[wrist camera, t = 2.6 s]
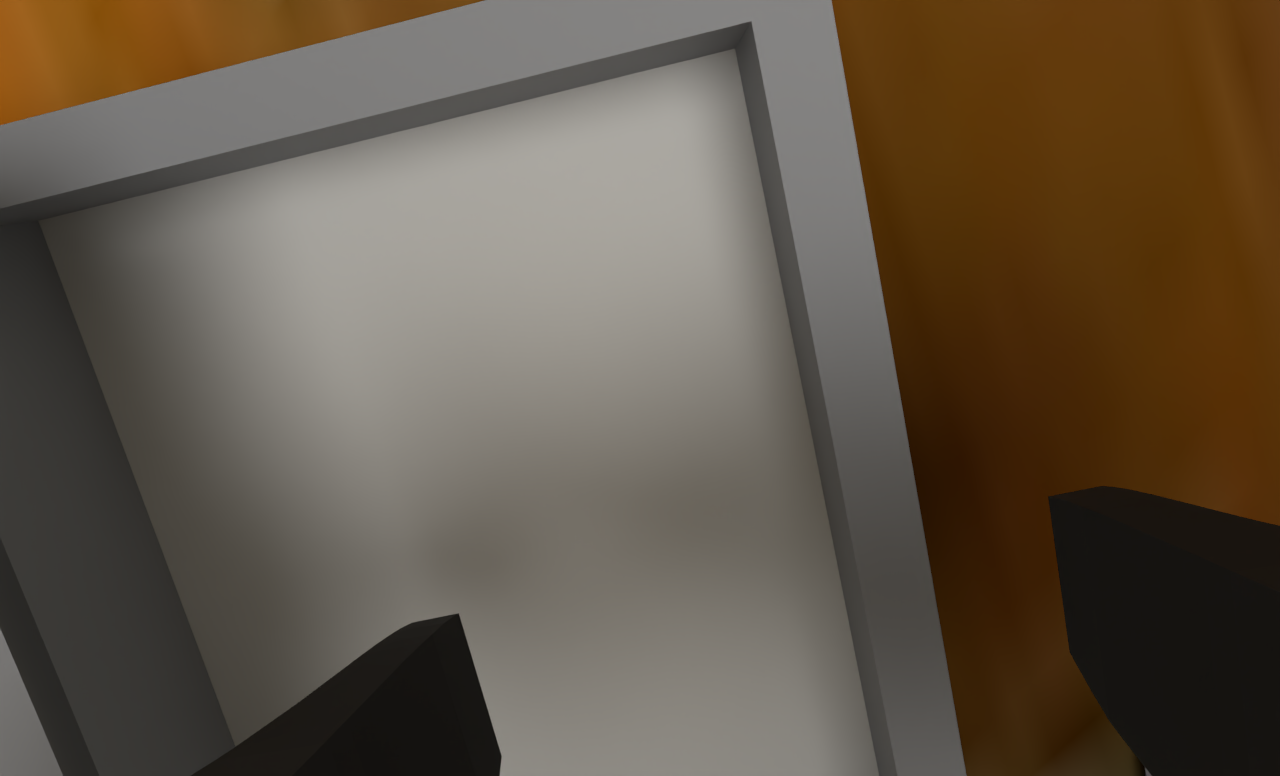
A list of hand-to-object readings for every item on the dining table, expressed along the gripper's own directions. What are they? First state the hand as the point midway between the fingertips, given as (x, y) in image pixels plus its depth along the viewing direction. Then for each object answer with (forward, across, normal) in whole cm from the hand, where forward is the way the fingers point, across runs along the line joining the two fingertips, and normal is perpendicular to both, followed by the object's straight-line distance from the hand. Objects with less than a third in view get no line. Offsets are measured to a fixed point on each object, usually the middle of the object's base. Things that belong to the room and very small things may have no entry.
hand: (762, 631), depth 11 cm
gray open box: (+6, +4, 0) cm, 8 cm away
